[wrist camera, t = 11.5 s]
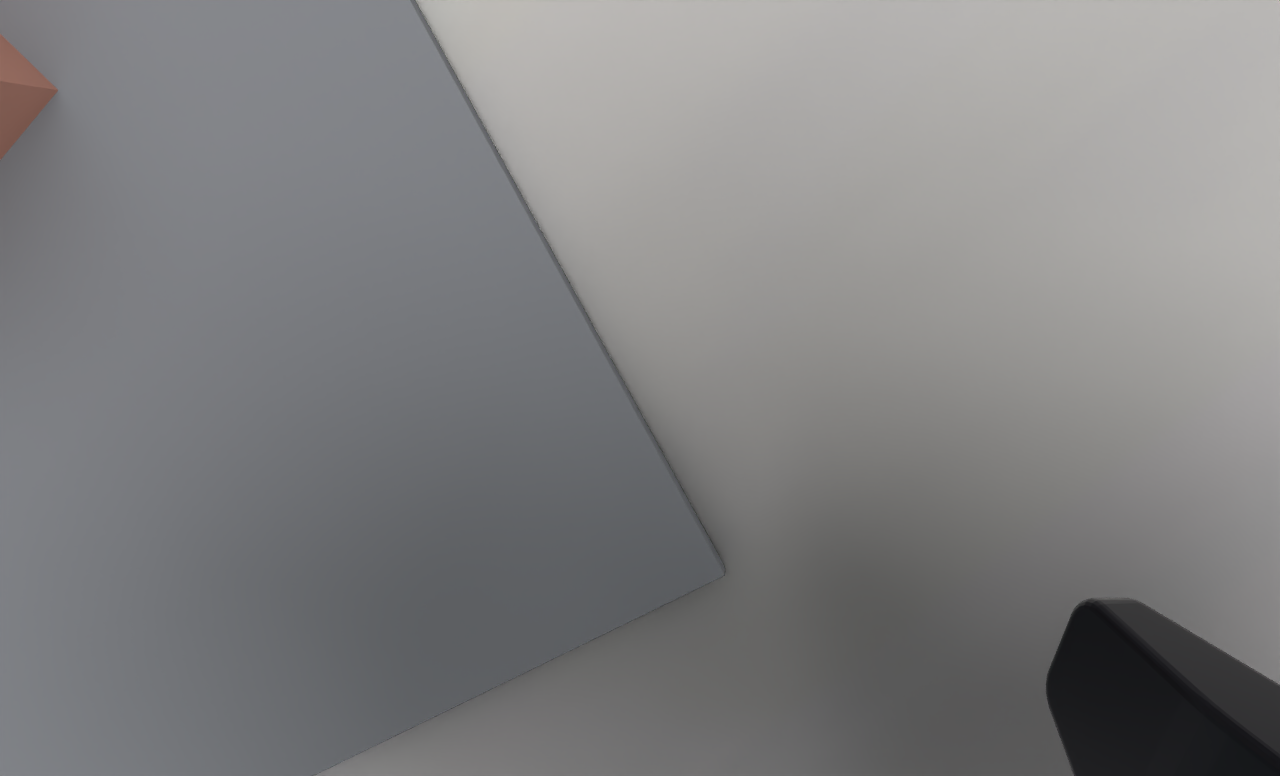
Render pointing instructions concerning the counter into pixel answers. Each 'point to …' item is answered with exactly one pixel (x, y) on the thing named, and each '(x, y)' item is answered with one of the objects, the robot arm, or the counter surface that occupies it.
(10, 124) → the card box
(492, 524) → the mat
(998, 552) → the counter surface
